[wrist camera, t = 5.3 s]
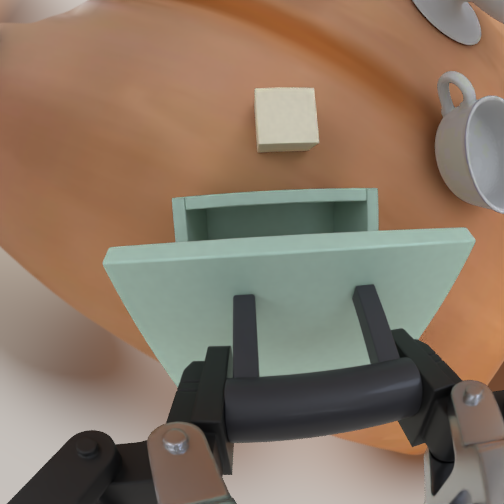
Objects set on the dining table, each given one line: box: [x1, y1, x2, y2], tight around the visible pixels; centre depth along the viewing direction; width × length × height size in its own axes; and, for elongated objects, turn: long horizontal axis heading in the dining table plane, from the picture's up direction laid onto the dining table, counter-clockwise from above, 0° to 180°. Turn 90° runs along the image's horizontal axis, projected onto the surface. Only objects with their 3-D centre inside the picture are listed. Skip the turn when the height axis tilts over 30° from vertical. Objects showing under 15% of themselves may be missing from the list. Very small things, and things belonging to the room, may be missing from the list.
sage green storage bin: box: [172, 188, 378, 242], centre depth 23 cm, size 16×13×9 cm
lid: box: [103, 227, 475, 443], centre depth 12 cm, size 16×13×5 cm
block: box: [254, 88, 319, 153], centre depth 22 cm, size 4×4×4 cm
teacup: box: [435, 71, 504, 214], centre depth 20 cm, size 14×11×8 cm
